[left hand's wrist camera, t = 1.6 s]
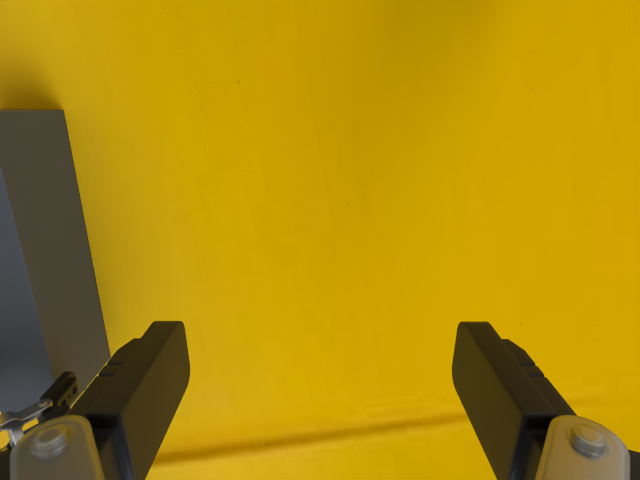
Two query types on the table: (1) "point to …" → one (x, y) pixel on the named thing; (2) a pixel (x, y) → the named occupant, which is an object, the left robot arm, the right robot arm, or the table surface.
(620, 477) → the left robot arm
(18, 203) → the long box
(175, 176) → the table surface
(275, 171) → the table surface
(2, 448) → the right robot arm
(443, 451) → the table surface
